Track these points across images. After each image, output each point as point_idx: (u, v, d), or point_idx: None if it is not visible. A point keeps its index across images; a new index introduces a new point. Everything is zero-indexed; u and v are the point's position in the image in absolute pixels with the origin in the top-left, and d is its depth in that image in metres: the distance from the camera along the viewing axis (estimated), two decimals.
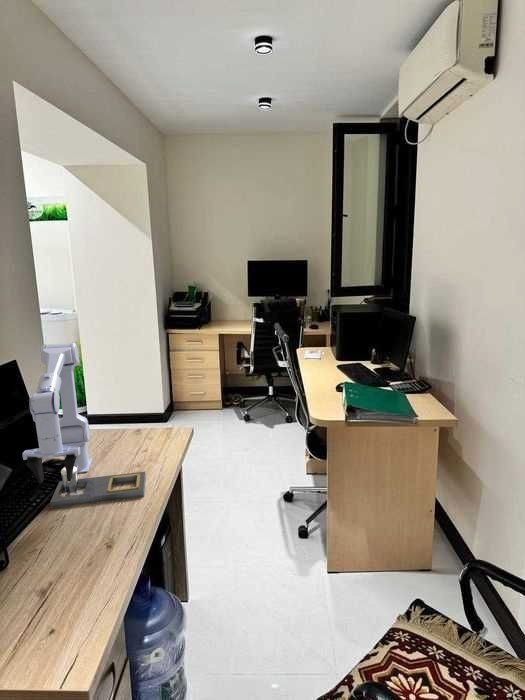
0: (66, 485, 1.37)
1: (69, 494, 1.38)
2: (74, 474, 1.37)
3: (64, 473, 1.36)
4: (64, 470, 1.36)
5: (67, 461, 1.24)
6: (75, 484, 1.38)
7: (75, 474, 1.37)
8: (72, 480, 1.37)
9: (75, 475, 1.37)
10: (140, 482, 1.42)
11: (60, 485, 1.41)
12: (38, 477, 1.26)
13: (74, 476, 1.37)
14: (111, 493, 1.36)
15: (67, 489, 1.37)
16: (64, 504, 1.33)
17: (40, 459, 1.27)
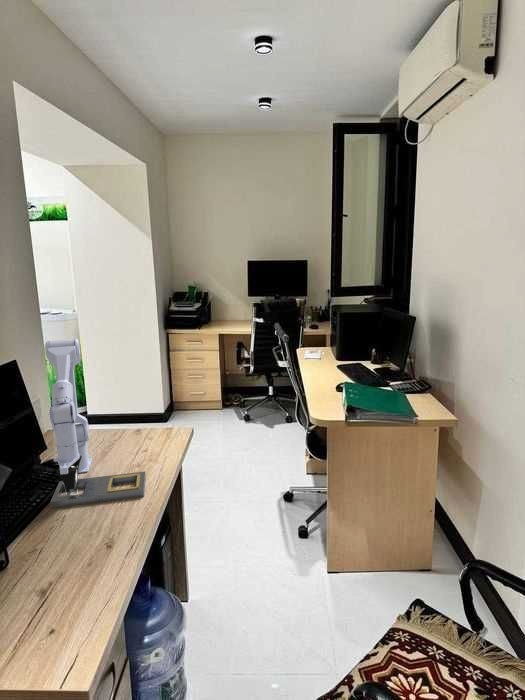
0: None
1: (69, 494, 1.38)
2: None
3: None
4: None
5: None
6: (75, 484, 1.38)
7: None
8: None
9: (75, 475, 1.37)
10: (140, 482, 1.42)
11: (60, 485, 1.41)
12: None
13: None
14: (111, 493, 1.36)
15: None
16: (64, 504, 1.33)
17: (75, 462, 1.40)
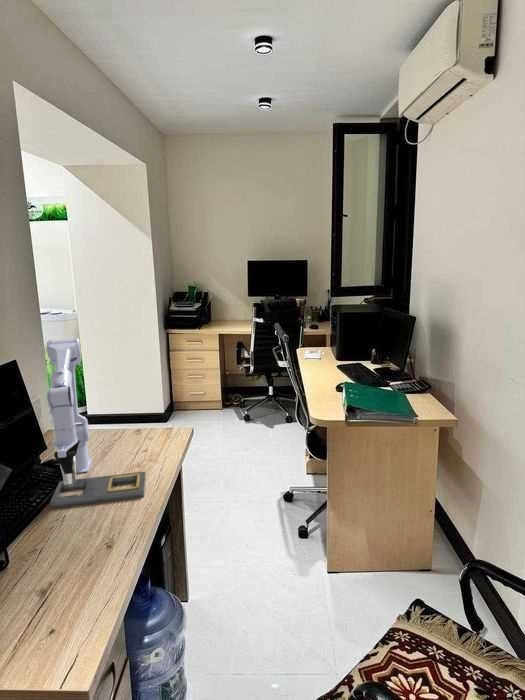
0: (64, 474, 1.36)
1: (67, 483, 1.37)
2: (73, 463, 1.36)
3: None
4: None
5: None
6: (73, 473, 1.37)
7: (74, 463, 1.36)
8: None
9: (74, 464, 1.36)
10: (140, 482, 1.42)
11: (60, 485, 1.41)
12: None
13: (73, 465, 1.36)
14: (111, 493, 1.36)
15: (65, 478, 1.36)
16: (64, 504, 1.33)
17: (73, 446, 1.39)
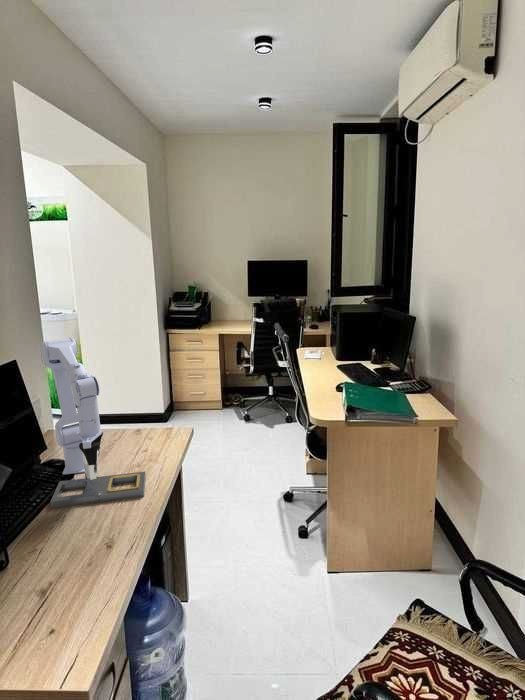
0: (87, 467, 1.37)
1: (89, 477, 1.37)
2: None
3: None
4: None
5: None
6: (96, 467, 1.38)
7: (97, 457, 1.37)
8: None
9: None
10: (140, 482, 1.42)
11: (60, 485, 1.41)
12: None
13: None
14: (111, 493, 1.36)
15: (87, 471, 1.37)
16: (64, 504, 1.33)
17: (97, 438, 1.39)
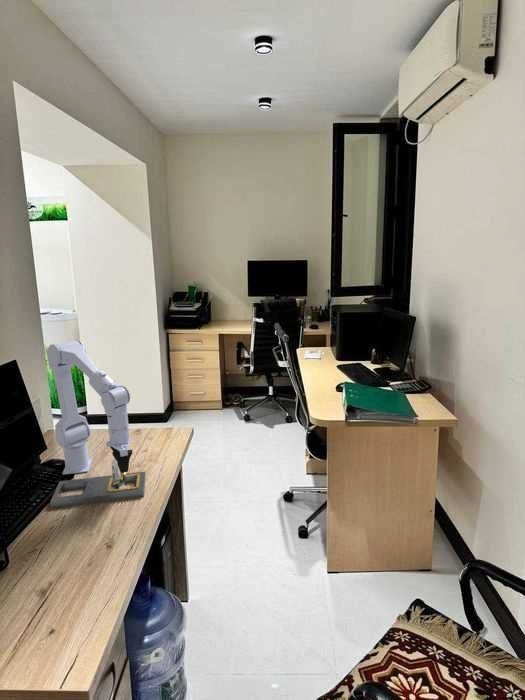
0: (116, 477, 1.39)
1: (118, 486, 1.39)
2: None
3: (117, 464, 1.38)
4: (116, 461, 1.38)
5: None
6: (124, 476, 1.40)
7: None
8: None
9: None
10: (140, 482, 1.42)
11: (60, 485, 1.41)
12: None
13: None
14: (111, 493, 1.36)
15: (117, 481, 1.39)
16: (64, 504, 1.33)
17: None
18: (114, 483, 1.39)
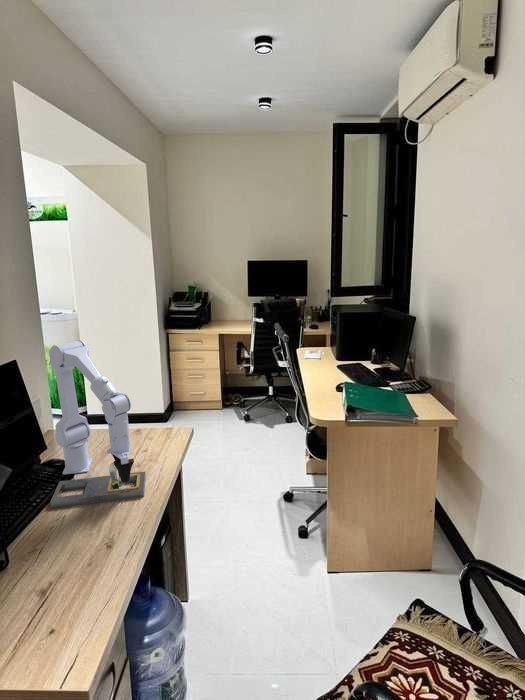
0: (115, 481, 1.39)
1: None
2: None
3: (114, 469, 1.37)
4: (113, 466, 1.38)
5: (114, 463, 1.34)
6: None
7: None
8: None
9: None
10: (140, 482, 1.42)
11: (60, 485, 1.41)
12: None
13: None
14: (111, 493, 1.36)
15: (116, 485, 1.39)
16: (64, 504, 1.33)
17: None
18: (114, 487, 1.40)
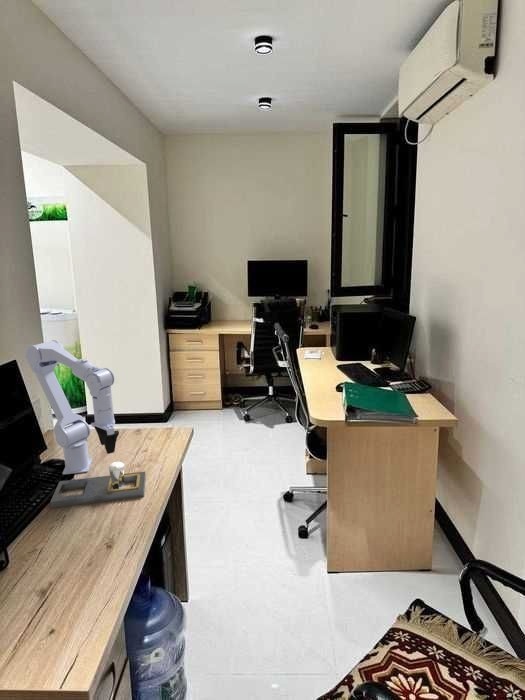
0: (115, 481, 1.39)
1: None
2: (123, 469, 1.39)
3: (114, 469, 1.37)
4: (113, 466, 1.38)
5: (100, 435, 1.40)
6: (123, 479, 1.40)
7: (123, 469, 1.40)
8: (121, 475, 1.39)
9: (123, 470, 1.40)
10: (140, 482, 1.42)
11: (60, 485, 1.41)
12: (99, 439, 1.49)
13: (123, 471, 1.39)
14: (111, 493, 1.36)
15: (116, 485, 1.39)
16: (64, 504, 1.33)
17: None
18: (114, 487, 1.40)
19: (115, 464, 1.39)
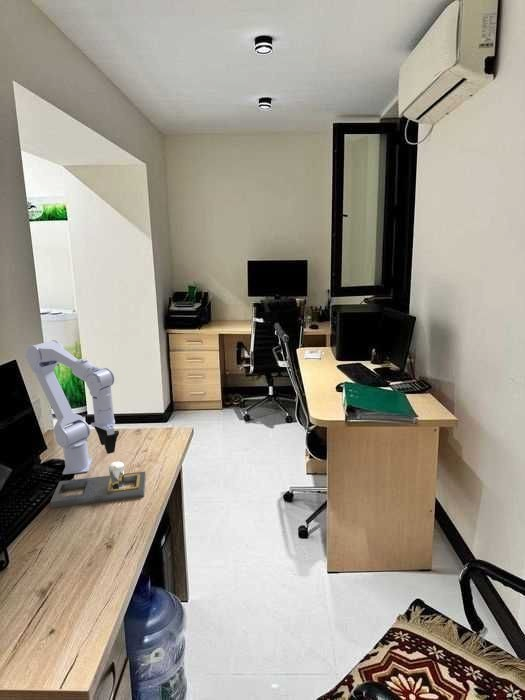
0: (115, 480, 1.39)
1: None
2: (123, 469, 1.39)
3: (114, 468, 1.37)
4: (113, 466, 1.38)
5: (100, 435, 1.40)
6: (123, 479, 1.40)
7: (123, 469, 1.40)
8: (121, 475, 1.39)
9: (123, 470, 1.40)
10: (140, 482, 1.42)
11: (60, 485, 1.41)
12: (99, 439, 1.49)
13: (123, 471, 1.39)
14: (111, 493, 1.36)
15: (116, 484, 1.39)
16: (64, 504, 1.33)
17: None
18: (114, 487, 1.40)
19: (115, 464, 1.39)
